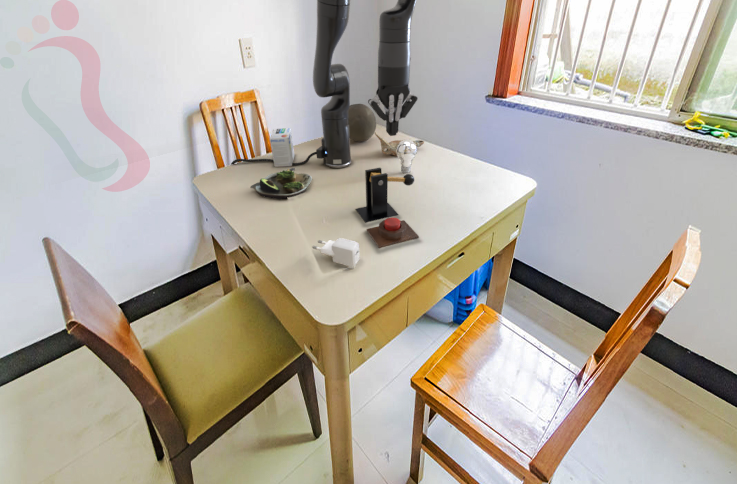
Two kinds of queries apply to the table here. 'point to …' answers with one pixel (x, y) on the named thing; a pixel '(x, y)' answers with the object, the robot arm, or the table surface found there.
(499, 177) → the table surface
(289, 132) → the light bulb box
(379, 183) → the switch bracket
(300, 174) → the salad plate
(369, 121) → the cantaloupe
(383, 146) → the oil lamp
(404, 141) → the light bulb
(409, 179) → the lever
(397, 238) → the button block
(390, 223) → the button
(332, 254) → the power adapter
